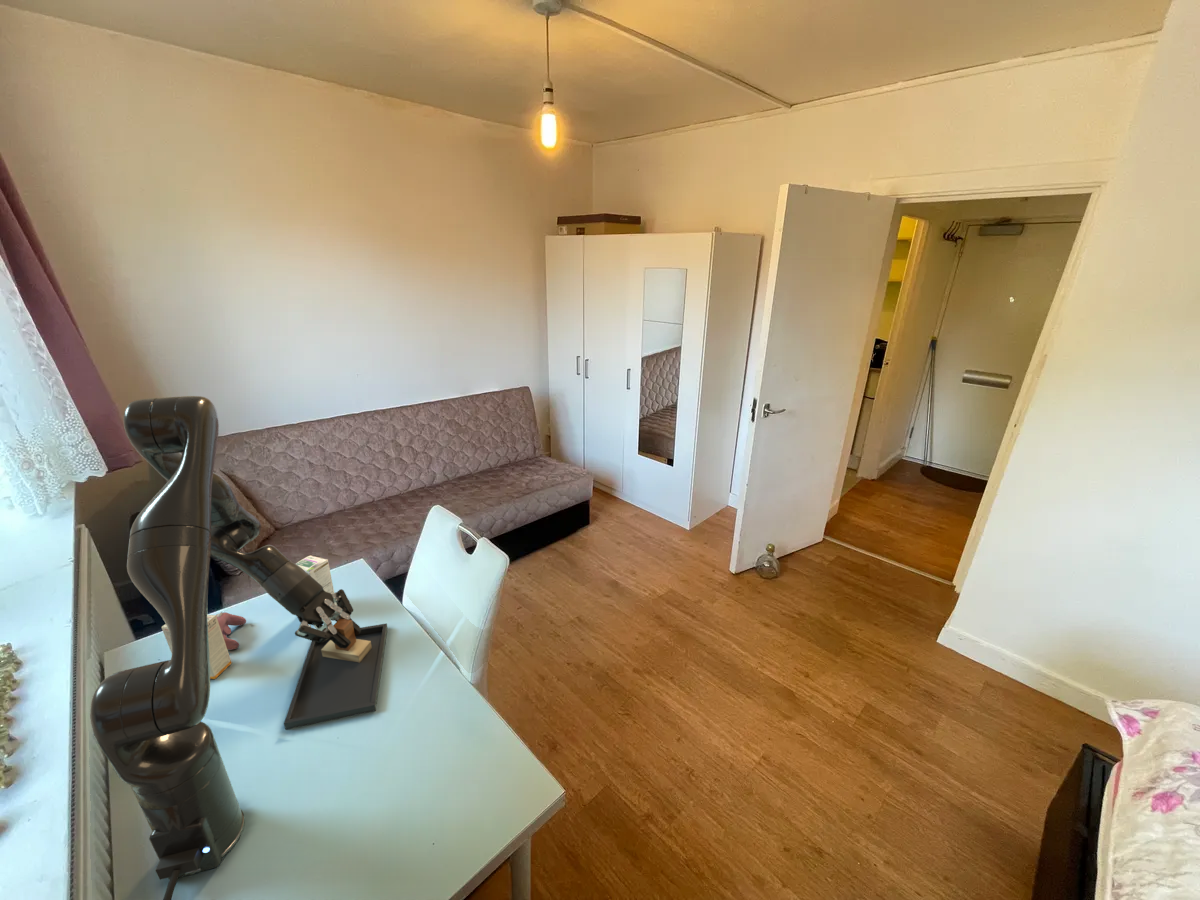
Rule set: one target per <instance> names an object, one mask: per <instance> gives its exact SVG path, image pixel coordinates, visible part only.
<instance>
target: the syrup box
mask: <svg viewBox="0 0 1200 900" xmlns="http://www.w3.org/2000/svg"><path fill="white" fill-rule="evenodd" d="M295 564H296V565H298V566H299V567H301V568H302V569H303V570H304V571H305V572H306V573H308V574H309V575H310V576H311V577H312V578H313V579H314V580H316V581H317V582H318V583H319V584H320V585H321V586H322V587H323V590H324V591H326V592H328V593H331V594H333V593H335V589H334V584H333V579H332V574H331V569H330V563H329V559H328V558H323V557H319V556H315V555H308V556H306V557H304V558H302V559H301V560H299V561H297V562H296V563H295ZM334 604H335V605H337V604H336V602H334Z"/></svg>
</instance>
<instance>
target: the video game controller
mask: <svg viewBox="0 0 1200 900" xmlns="http://www.w3.org/2000/svg"><path fill="white" fill-rule="evenodd" d="M215 615H216V617H217V620H218V623H219V626H220V629H221V632H222V635H223V638H224V641H225V644H226V647H227V650H228V651H231V650H236V649H238V648H239V647H240V643H239V641H237V640H236V639H233V638H228V636H229V635H230V634H231V633H232V629H231V627H230V626H232V627H234V626H235V627H237V626H244V625H246V623H247V619H246V618H245V617H244V616H241V615H238V614H237V615H236V614H232V613H230V612H229V613H228V612H220V613H217V614H215Z"/></svg>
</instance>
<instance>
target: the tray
mask: <svg viewBox="0 0 1200 900" xmlns="http://www.w3.org/2000/svg"><path fill="white" fill-rule="evenodd" d="M360 629H361V632H360V633H359V634H358V635H357V636H356V639H361V640H367V641H371V646H372V648H371V649H370V651H369V652H368V653H367V654H366V656H365V657H364V658H363V659H362V661H361V662H360V663H359V662H353V661H347V660H340V659H334V658H328V657H323V656H322V651H321V649H322V648H323V647H324V646H325V645H326V644H327V643H328V642H329V641H330V640H326V641H324V642H322V643H318V642H314V641H311V642H310V645H309V648H308V651H307V654H306V657H305V660H304V663H303V666H302V668H301V671H300V675H299V677H298V680H297V683H296V687H295V689H294V692H293V695H292V698H291V702H290V704H289V708H288V710H287V714H286V716H285V720H284V722H283V726H284V729H285V730H291V729H295V728H296V729H297V728H300V727H305V726H310V725H315V724H320V723H325V722H329V721H333V720H339V719H343V718H347V717H352V716H357V715H358V716H359V715H362V714H367V713H372V712H376V711H377V705H378V699H379V698H378V697H379V693H380V692H379V691H380V684H381V677H382V671H383V665H384V658H385V657H384V656H385V650H386V644H387V637H388V629H389V626H388V623H380V624H375V625H368V626H362V627H360Z"/></svg>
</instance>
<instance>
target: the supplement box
mask: <svg viewBox="0 0 1200 900" xmlns="http://www.w3.org/2000/svg"><path fill="white" fill-rule="evenodd" d="M216 615H217V614H207V620H208V641H209V660H210V680H216V679H217V678H218V677H219V676H221V674H222V673H223V672H224V671H225V670H227V668H229V667H230V666H231V665H232V664H233V662H232V659H231V656H230V653H229V650H227V647H226V644H225V641H224V638H223V635H222V632H221V629H220V626H219V623H218V620H217V617H216ZM161 630H162V633H163V635H164V637H165V639H166V642H167V646H168V648H169V651H170V653H171V654H172V644H171V637H170V633H169V630H168V627H167V625H166V623H165V624H163V625H162V626H161Z"/></svg>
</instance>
